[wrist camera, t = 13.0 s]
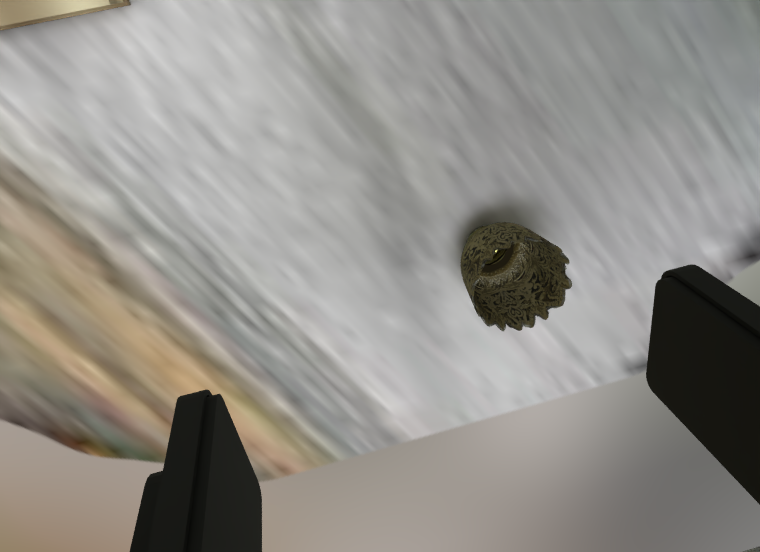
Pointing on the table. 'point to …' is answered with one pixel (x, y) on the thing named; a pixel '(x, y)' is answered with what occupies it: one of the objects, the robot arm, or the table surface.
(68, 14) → the base block
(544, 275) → the cup
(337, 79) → the table surface
